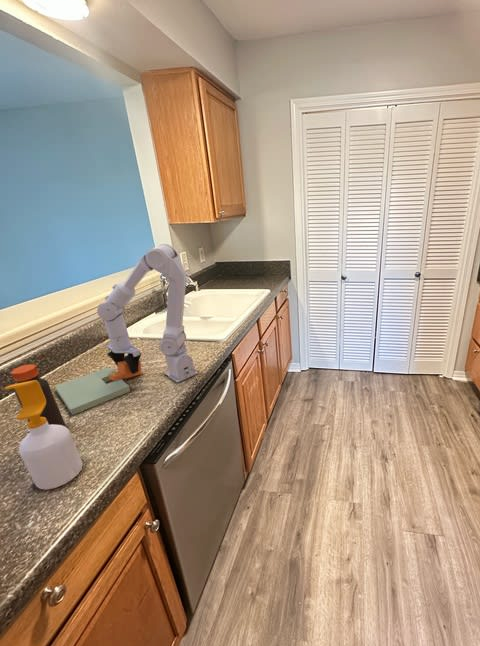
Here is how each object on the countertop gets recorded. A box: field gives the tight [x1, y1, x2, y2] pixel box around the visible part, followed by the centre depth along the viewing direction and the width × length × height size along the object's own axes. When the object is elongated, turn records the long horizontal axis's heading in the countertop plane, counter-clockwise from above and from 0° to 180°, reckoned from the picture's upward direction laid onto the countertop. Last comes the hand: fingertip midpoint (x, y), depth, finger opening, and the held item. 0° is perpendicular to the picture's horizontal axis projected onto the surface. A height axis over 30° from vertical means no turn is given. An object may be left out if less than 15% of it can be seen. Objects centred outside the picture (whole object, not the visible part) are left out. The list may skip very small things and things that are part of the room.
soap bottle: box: [4, 380, 84, 490], centre depth 69 cm, size 9×9×25 cm
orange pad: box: [109, 360, 142, 382], centre depth 112 cm, size 4×10×5 cm, turn 150°
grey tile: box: [54, 367, 131, 416], centre depth 106 cm, size 20×16×2 cm
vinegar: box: [10, 363, 67, 428], centre depth 84 cm, size 7×7×20 cm
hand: (129, 370), depth 113 cm, fingers open, 6 cm apart
